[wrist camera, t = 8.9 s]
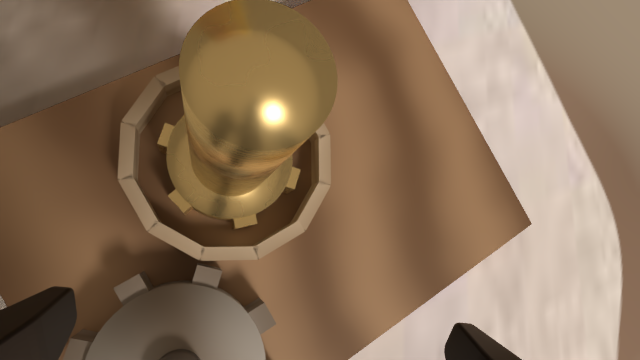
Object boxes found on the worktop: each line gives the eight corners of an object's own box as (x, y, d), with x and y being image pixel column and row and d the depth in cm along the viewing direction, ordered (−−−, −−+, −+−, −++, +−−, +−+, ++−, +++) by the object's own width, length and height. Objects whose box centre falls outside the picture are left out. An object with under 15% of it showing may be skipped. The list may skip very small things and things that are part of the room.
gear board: (134, 503, 19) (117, 569, 15) (-61, 164, 19) (-127, 144, 15) (517, 224, 27) (570, 221, 23) (381, -20, 26) (411, -65, 23)
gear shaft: (221, 253, 20) (246, 270, 9) (133, 160, 20) (41, 50, 8) (314, 168, 22) (434, 90, 11) (236, 80, 22) (275, -99, 10)
